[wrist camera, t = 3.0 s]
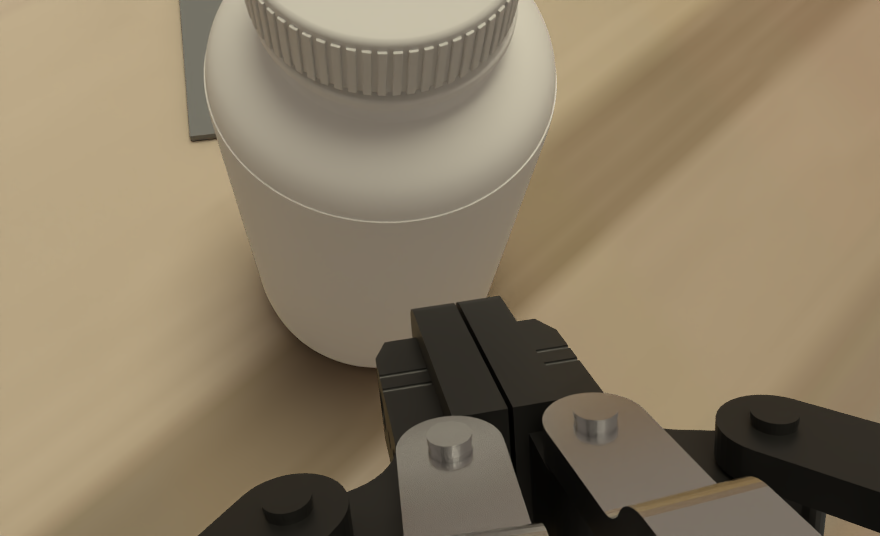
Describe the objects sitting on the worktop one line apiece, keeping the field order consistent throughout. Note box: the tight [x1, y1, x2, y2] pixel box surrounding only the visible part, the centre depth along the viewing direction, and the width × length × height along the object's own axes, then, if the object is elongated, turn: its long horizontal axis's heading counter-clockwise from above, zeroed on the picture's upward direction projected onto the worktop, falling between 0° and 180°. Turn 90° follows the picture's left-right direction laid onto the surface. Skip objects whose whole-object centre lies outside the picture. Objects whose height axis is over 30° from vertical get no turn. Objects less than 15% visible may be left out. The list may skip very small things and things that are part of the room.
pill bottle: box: [204, 0, 557, 368], centre depth 21 cm, size 8×8×15 cm
